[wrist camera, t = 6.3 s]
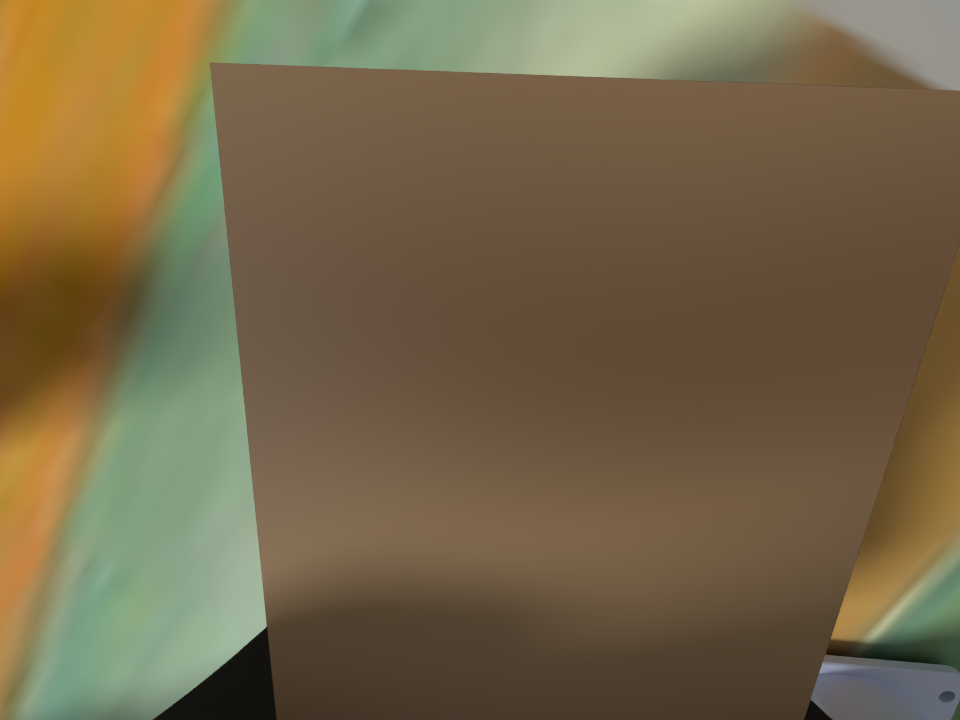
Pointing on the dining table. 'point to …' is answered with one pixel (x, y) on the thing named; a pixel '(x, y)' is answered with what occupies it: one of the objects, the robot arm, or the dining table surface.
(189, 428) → the dining table surface
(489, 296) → the walnut beam
